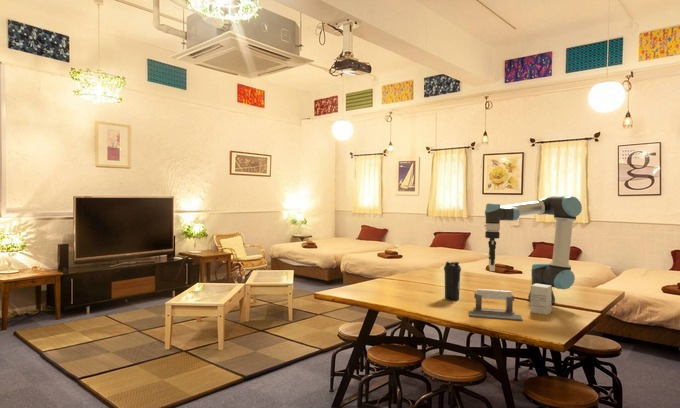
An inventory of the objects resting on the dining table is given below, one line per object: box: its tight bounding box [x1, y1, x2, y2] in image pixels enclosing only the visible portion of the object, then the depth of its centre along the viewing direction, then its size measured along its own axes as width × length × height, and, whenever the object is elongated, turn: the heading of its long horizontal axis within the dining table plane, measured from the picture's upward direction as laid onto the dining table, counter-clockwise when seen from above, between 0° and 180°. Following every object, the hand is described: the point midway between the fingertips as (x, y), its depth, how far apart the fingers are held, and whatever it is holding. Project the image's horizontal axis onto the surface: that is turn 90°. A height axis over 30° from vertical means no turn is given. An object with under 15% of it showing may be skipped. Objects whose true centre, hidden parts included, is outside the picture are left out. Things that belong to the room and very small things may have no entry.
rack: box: [473, 291, 515, 315], centre depth 244 cm, size 21×6×10 cm, turn 74°
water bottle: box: [443, 261, 462, 302], centre depth 272 cm, size 10×10×23 cm
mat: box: [468, 310, 524, 322], centre depth 233 cm, size 26×9×1 cm, turn 74°
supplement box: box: [529, 283, 553, 316], centre depth 243 cm, size 9×9×15 cm
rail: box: [476, 288, 513, 301], centre depth 244 cm, size 18×4×4 cm, turn 74°
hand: (491, 269), depth 246 cm, fingers open, 13 cm apart
